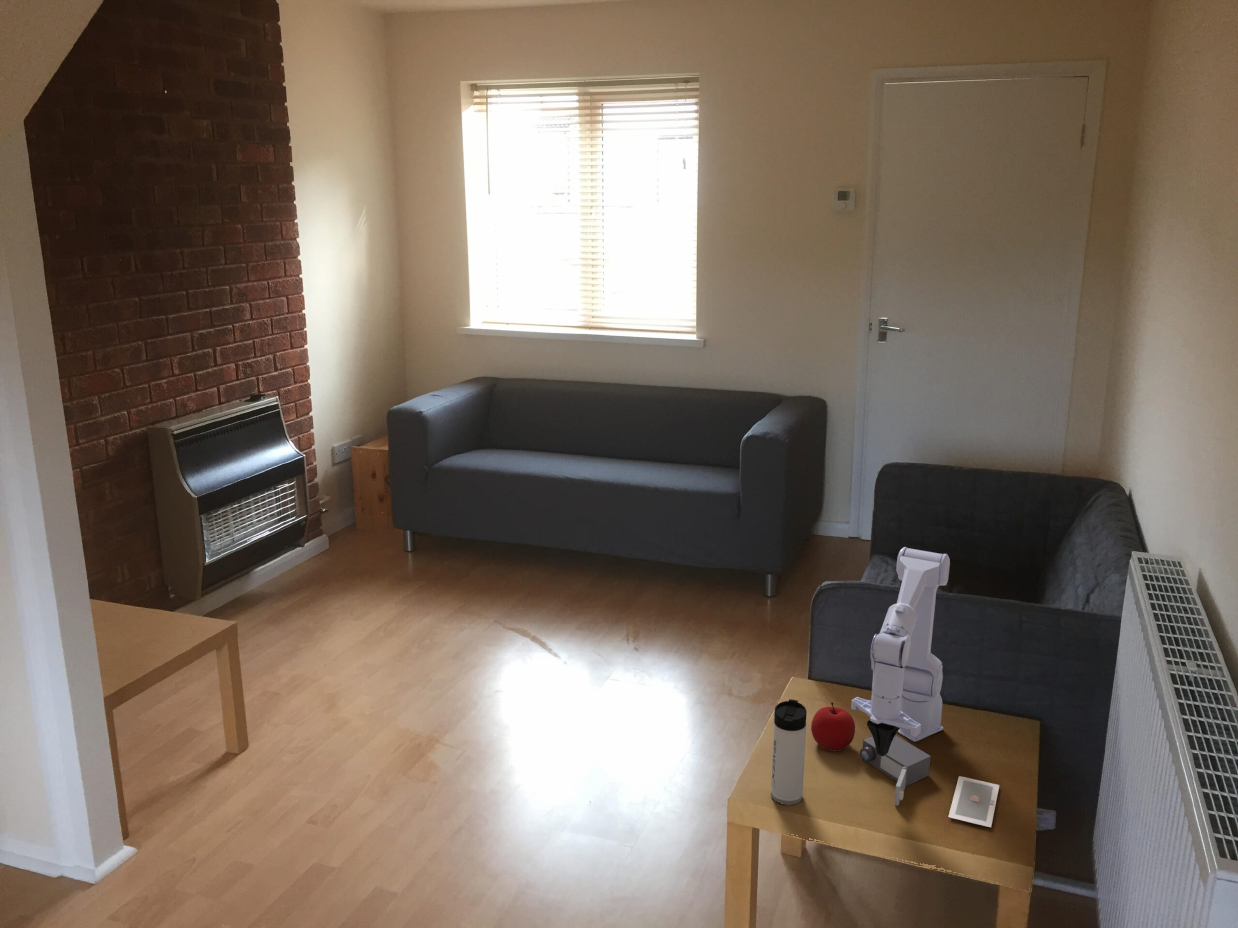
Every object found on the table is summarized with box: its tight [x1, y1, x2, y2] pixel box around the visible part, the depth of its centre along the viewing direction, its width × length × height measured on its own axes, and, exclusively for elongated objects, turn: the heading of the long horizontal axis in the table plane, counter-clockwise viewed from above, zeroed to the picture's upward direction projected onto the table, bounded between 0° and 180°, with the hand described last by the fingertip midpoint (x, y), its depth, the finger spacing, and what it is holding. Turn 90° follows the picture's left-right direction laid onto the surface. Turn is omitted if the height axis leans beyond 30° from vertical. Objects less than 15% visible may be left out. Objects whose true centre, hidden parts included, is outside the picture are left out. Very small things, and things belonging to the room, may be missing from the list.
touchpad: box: [948, 775, 1000, 828], centre depth 208 cm, size 8×15×2 cm, turn 155°
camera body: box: [859, 734, 932, 787], centre depth 219 cm, size 9×12×5 cm
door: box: [893, 766, 907, 806], centre depth 209 cm, size 8×2×5 cm, turn 154°
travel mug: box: [770, 698, 808, 806], centre depth 207 cm, size 6×7×20 cm
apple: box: [810, 702, 856, 752], centre depth 226 cm, size 9×9×10 cm
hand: (882, 753), depth 208 cm, fingers closed
